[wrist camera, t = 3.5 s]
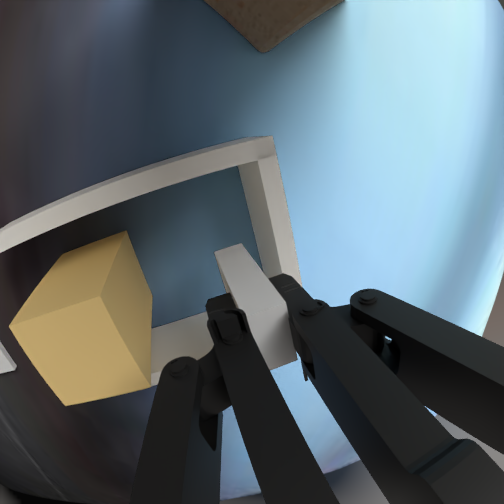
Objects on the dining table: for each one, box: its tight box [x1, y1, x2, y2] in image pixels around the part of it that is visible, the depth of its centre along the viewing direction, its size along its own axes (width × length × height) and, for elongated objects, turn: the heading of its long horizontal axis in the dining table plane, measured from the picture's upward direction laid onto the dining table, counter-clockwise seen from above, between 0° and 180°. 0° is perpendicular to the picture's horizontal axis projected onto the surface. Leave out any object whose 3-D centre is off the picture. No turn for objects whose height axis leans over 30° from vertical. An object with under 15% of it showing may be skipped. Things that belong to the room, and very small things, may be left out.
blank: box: [9, 230, 153, 406], centre depth 15 cm, size 5×5×9 cm
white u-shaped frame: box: [0, 136, 302, 386], centre depth 17 cm, size 12×17×5 cm
